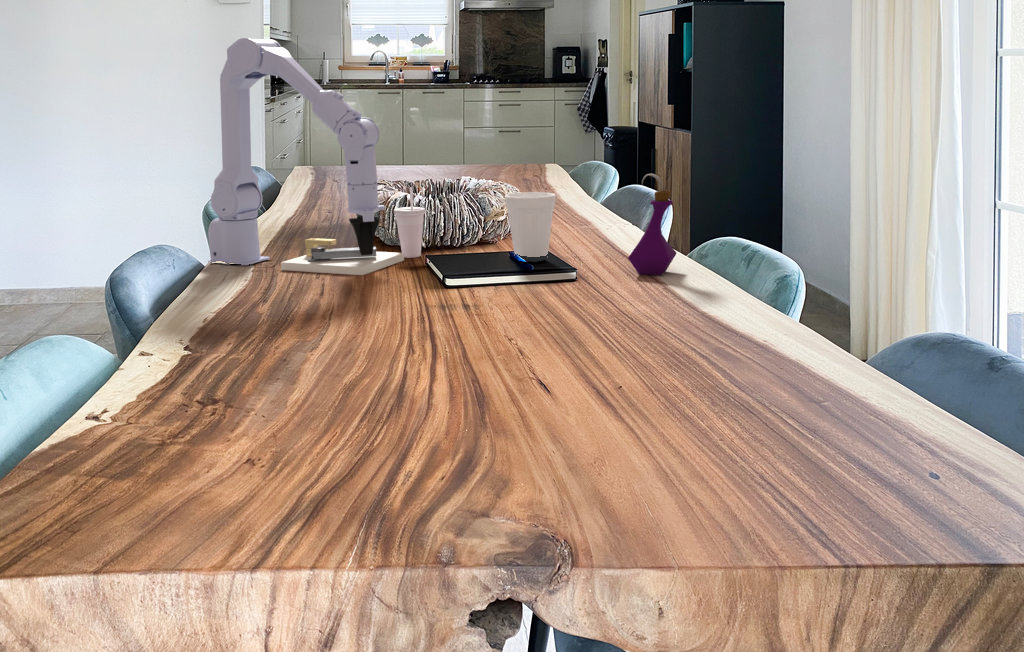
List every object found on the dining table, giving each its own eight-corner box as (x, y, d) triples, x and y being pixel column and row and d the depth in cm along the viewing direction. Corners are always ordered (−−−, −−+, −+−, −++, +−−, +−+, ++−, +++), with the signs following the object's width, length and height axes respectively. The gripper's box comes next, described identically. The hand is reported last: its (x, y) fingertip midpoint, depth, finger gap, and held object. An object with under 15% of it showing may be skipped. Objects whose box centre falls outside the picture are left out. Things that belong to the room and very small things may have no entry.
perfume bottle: (676, 270, 186) (678, 171, 182) (669, 277, 179) (670, 175, 175) (636, 268, 189) (637, 171, 184) (627, 275, 182) (628, 175, 177)
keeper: (306, 256, 200) (304, 239, 199) (311, 254, 202) (310, 238, 201) (331, 257, 198) (330, 240, 197) (337, 255, 200) (336, 239, 199)
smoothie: (422, 259, 203) (419, 189, 199) (391, 258, 204) (388, 189, 201) (430, 253, 209) (428, 185, 205) (401, 253, 210) (398, 185, 207)
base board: (281, 270, 194) (280, 261, 194) (327, 256, 208) (326, 247, 208) (362, 275, 187) (361, 266, 187) (404, 260, 202) (403, 251, 201)
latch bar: (311, 259, 193) (310, 249, 193) (311, 256, 196) (310, 247, 196) (376, 256, 195) (376, 246, 195) (375, 253, 198) (375, 244, 198)
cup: (566, 259, 199) (565, 193, 196) (540, 268, 191) (539, 198, 188) (523, 255, 204) (521, 191, 201) (495, 263, 196) (494, 196, 193)
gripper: (388, 186, 185) (392, 259, 189) (377, 179, 199) (382, 247, 202) (349, 188, 184) (354, 261, 187) (341, 181, 197) (346, 249, 201)
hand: (366, 254), depth 194 cm, fingers closed, pressing on latch bar
